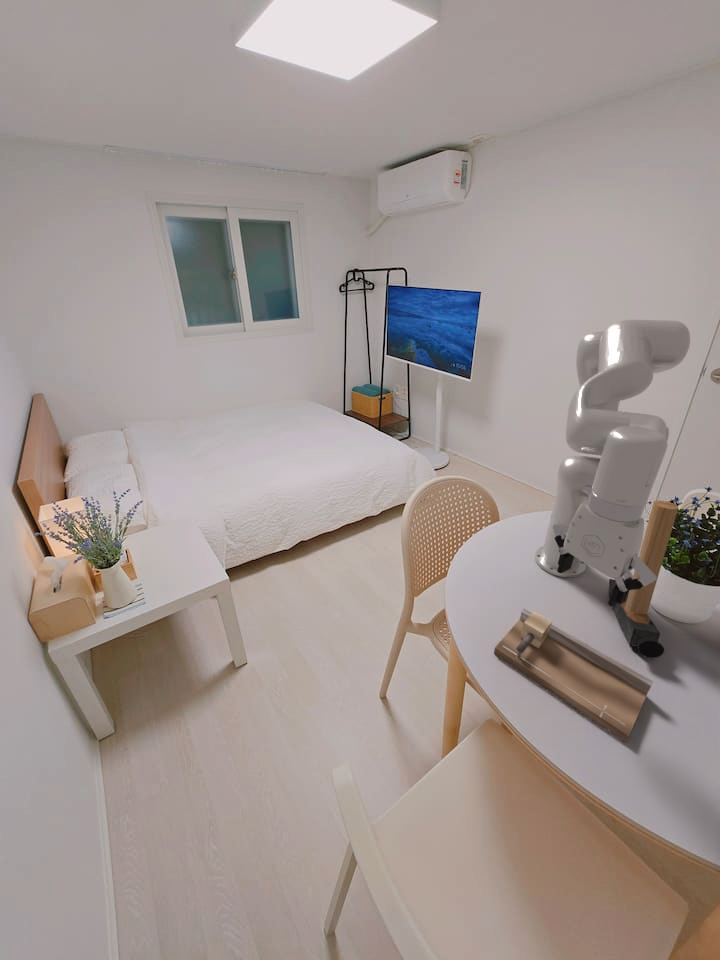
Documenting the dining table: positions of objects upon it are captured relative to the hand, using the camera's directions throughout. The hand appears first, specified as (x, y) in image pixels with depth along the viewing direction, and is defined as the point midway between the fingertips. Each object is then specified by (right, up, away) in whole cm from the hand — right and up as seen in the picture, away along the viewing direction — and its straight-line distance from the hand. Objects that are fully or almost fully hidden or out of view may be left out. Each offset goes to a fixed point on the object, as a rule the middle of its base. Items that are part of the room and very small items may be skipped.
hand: (587, 585), depth 71 cm
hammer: (+21, -14, +20) cm, 32 cm away
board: (+1, -20, +9) cm, 22 cm away
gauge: (-5, -16, +13) cm, 21 cm away
